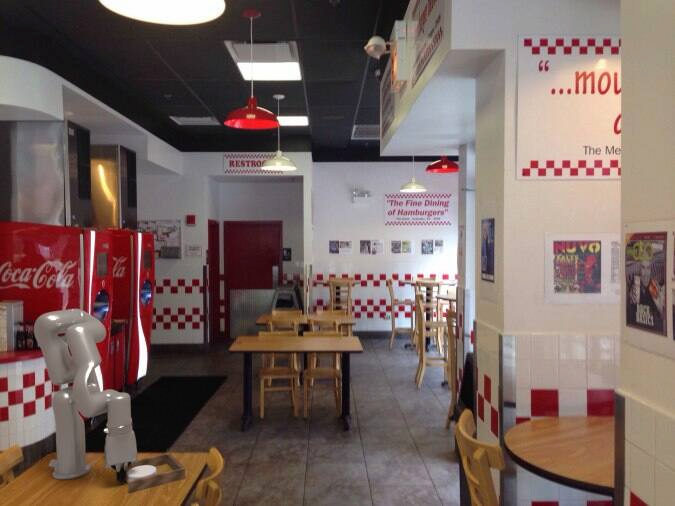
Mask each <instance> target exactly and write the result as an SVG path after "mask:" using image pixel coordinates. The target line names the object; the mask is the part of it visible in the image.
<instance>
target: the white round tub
mask: <svg viewBox="0 0 675 506" xmlns="http://www.w3.org/2000/svg"><path fill="white" fill-rule="evenodd" d="M157 469H158V468H157V466H155V467H154V466H151V465H142V466H137V467H134V468H132V469H130V470H129V471H128V472H127V474H126V482H127V483H128V482H129V481H132V480H136V479H140V478H144V477H148V476H152V475H156V474H158V473H157V471H158V470H157Z"/></svg>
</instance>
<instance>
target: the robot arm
mask: <svg viewBox="0 0 675 506" xmlns="http://www.w3.org/2000/svg"><path fill="white" fill-rule="evenodd" d="M33 334H34V337H35V339H36V341H37V344H38V345H39V348H40V350H41V353H42V355H43V359H44V363H45V367H46V370H47V375H48V377H49V379H50V382H51V384H53V385H54V386H62V385H68V384H70V383H71V384H72V385H71V386H67V387H63V388H61V389H59V390H57V391H56V392H55V393H54V394H53V396H52V399H51V407H52V412H53V415H54V421H55V441H56V442H55V443H56V446H55V447H56V459H54V458H53V459H51V460H50V461H49V464H48V467H49V468H54V470H53V472H52V477H53V478H54V479H56V480H70V479H71V480H72V479H76V478H79V477H81V476H84V475H86V474H88V473H90V471H91V464H89V463H87V462H86V461H87V458H86V433H85V432H86V431H85V429H86V428H85V421H84V419H83V417H84V418H93V417H94V418H95V417H96V416H100V415H102V414H105V413H107V422H108V427H107V426H106V428H104V429H103V433H104V434H106V437H105V440H104V441H105V443H104V461H105V462H104V468H105V469H112V470H114V471H115V473H116V474H115V475H116V477H115V478H116V481H118V482H119V483H120V484H121V483H125V482H126V479H127V474H126V470H127V468H128V467H129V465H130V464H131V463H134V462H136V461H137V460H138V458H137V457H138V450H137V440H136V435H135V431H134V430H133V429H132V430H131V418H132V416H131V415H132V414H131V413H132V411H131V409H132V407H131V395H130V394H129V393H128V392H119V391H117V390H115V389H105V390H102V391H101V387H100V384H99V381H98V377H97V373H96V368H97V367H99V366H100V364H101V363H102V357H101V355H100V352H99V350H98V346H97V343H101V342H103V341H104V340H105V339H106V336H107V329H106V327H105V325H104V324H103V322H101V321H100V320H99V319H98V318H97V317H95V316H93V315H91V314H90V313H88V312H87V311H85V310H82V309H80V308H69V309H63V310H56V311H50V312H45V313H43V314H41V315H40V316H38V317H37V319H36V320H35V322H34V326H33ZM59 334H65V335H64V336H65V340H66V342H65V341H64V339H63V338H61V336H58V335H59ZM79 413H80V414H81V415H82V416H83V417H82V416H81V415H80V414H79ZM107 433H108V434H107ZM119 464H122V467H121V469H120V466H119Z"/></svg>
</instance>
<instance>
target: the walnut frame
mask: <svg viewBox="0 0 675 506" xmlns="http://www.w3.org/2000/svg"><path fill="white" fill-rule="evenodd" d="M142 465H151V466H154V467H159V466H163V465H168V466H169V467H170V468H171V469H172V470H169V471H165V472H161V473H157V474H156V475H152V476H148V477H144V478H140V479H136V480H132V481H129V482H127V484H128V494H131V493H134V492H135V493H136V492H139V491H143V490H146V489H150V488H155V487H158V486H162V485H165V484H169V483H172V482H177V481H180V480H185V479H186V468H185V467H184V465H182V464H181V463H180V462H179V461H178V460H177V459H176V458H175V457H174V456H173V455H172V454H171V453H170V452H167V453H163V454H158V455H154V456H150V457H146V458H141V459H137V461H136V462H134V463H131V464H130V465H129V467H128V468H127V470H126V475H127V472H128V471H129V470H130V469H132V468H134V467H137V466H142ZM119 466H120V469H121V467H122V464H119Z"/></svg>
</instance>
